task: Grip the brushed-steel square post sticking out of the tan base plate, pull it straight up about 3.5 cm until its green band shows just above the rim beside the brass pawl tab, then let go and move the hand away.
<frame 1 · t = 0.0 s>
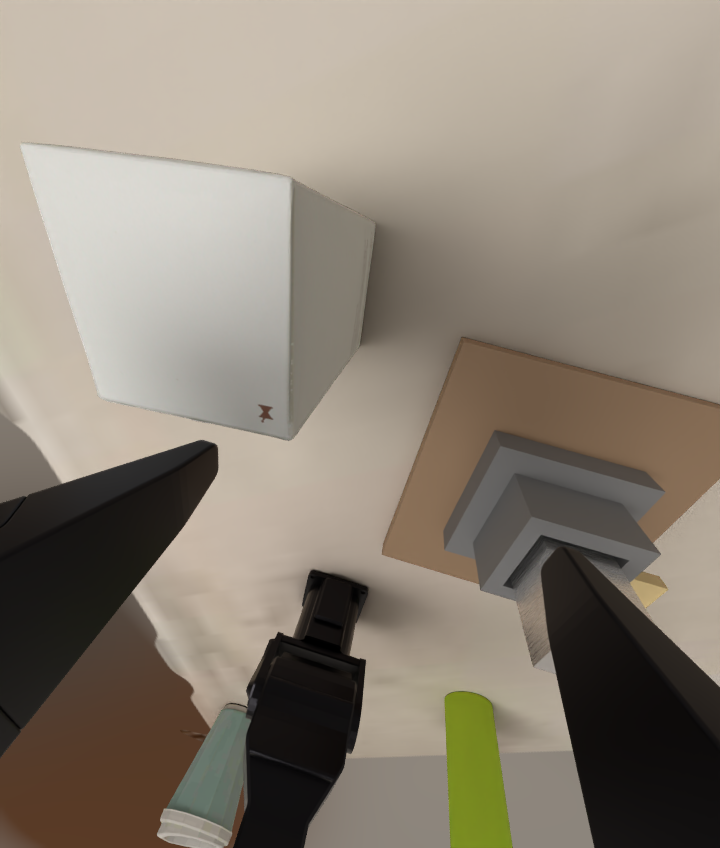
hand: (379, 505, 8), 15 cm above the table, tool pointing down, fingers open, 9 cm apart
disposable coffee cup: (242, 711, 57), on the table
tan base plate: (527, 493, 24), on the table
soap dispenser: (463, 699, 41), on the table
supplement box: (312, 280, 20), on the table
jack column: (558, 566, 19), point 6 cm above the table, slide at 0.0 cm
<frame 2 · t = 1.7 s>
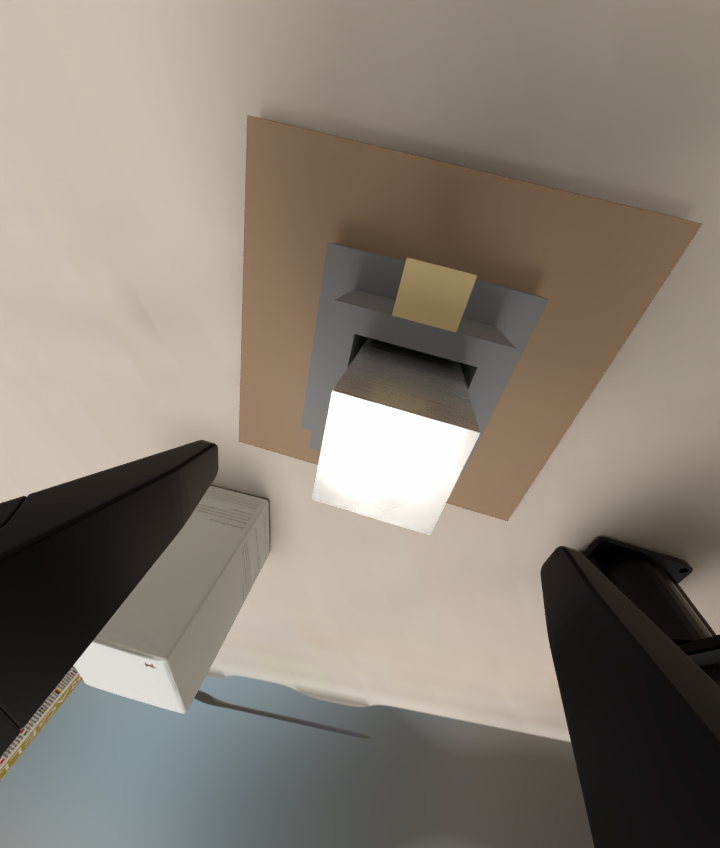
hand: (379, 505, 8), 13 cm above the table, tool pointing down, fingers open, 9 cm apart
tan base plate: (407, 356, 19), on the table
supplement box: (234, 517, 30), on the table
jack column: (398, 400, 14), point 6 cm above the table, slide at 0.0 cm
juice carton: (103, 593, 42), on the table
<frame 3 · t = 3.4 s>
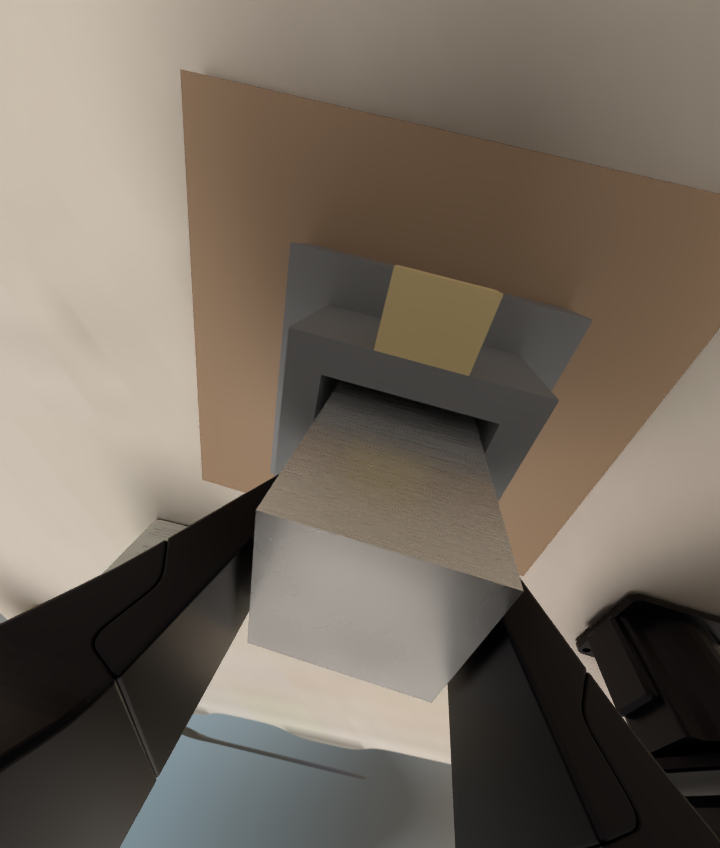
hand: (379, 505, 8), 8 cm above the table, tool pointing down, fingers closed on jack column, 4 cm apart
tan base plate: (401, 383, 15), on the table
supplement box: (206, 556, 26), on the table
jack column: (387, 459, 10), point 6 cm above the table, slide at 0.0 cm, touching gripper
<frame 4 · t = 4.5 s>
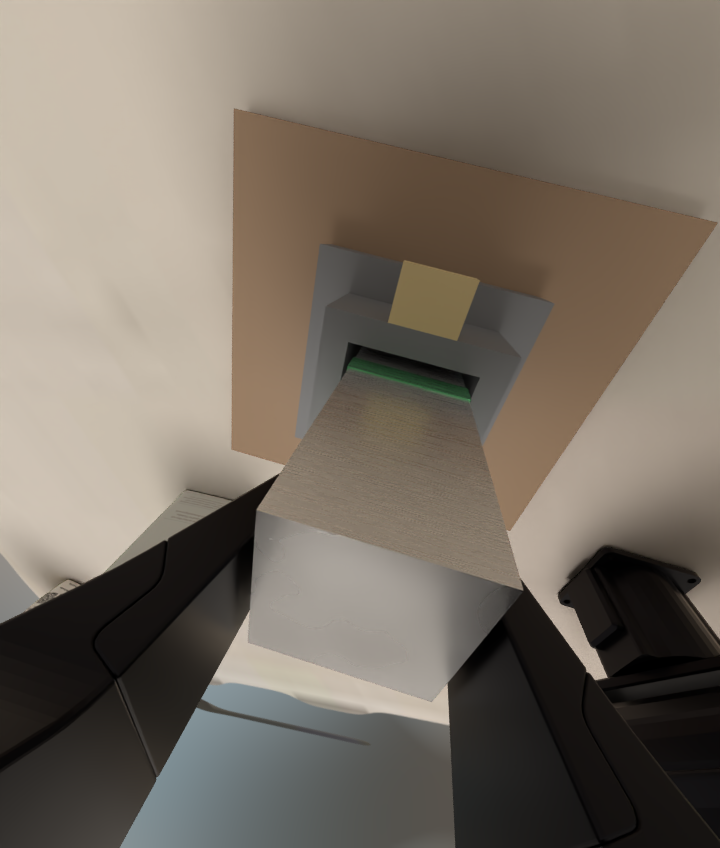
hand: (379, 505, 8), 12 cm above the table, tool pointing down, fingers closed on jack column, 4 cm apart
tan base plate: (405, 362, 18), on the table
supplement box: (229, 525, 29), on the table
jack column: (387, 459, 10), point 10 cm above the table, slide at 3.4 cm, touching gripper
juice carton: (96, 600, 41), on the table
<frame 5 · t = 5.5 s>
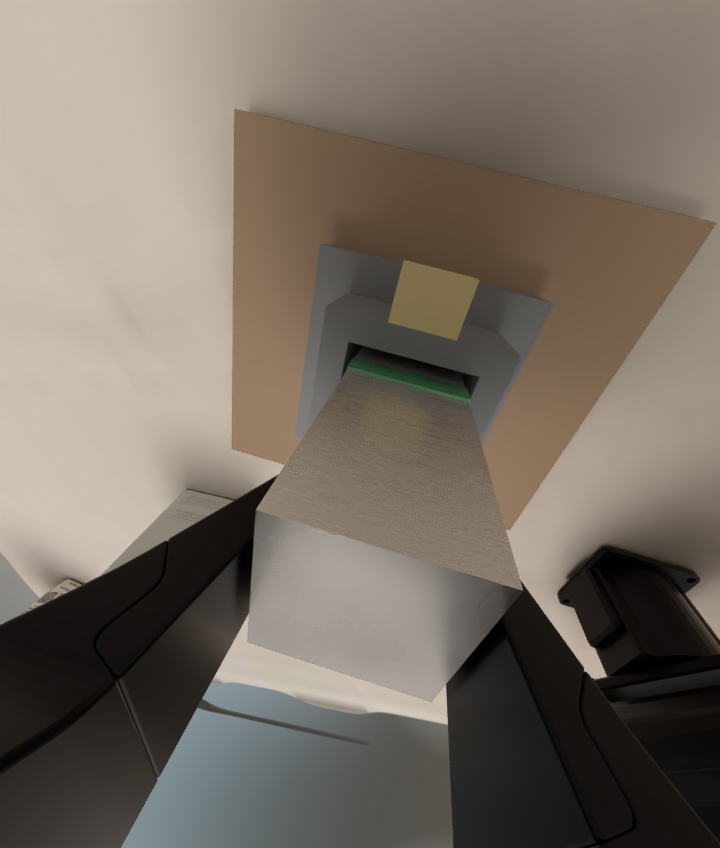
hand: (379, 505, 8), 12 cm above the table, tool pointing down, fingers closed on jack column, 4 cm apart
tan base plate: (405, 362, 18), on the table
supplement box: (229, 524, 29), on the table
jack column: (387, 459, 10), point 10 cm above the table, slide at 3.4 cm, touching gripper
juice carton: (97, 600, 41), on the table
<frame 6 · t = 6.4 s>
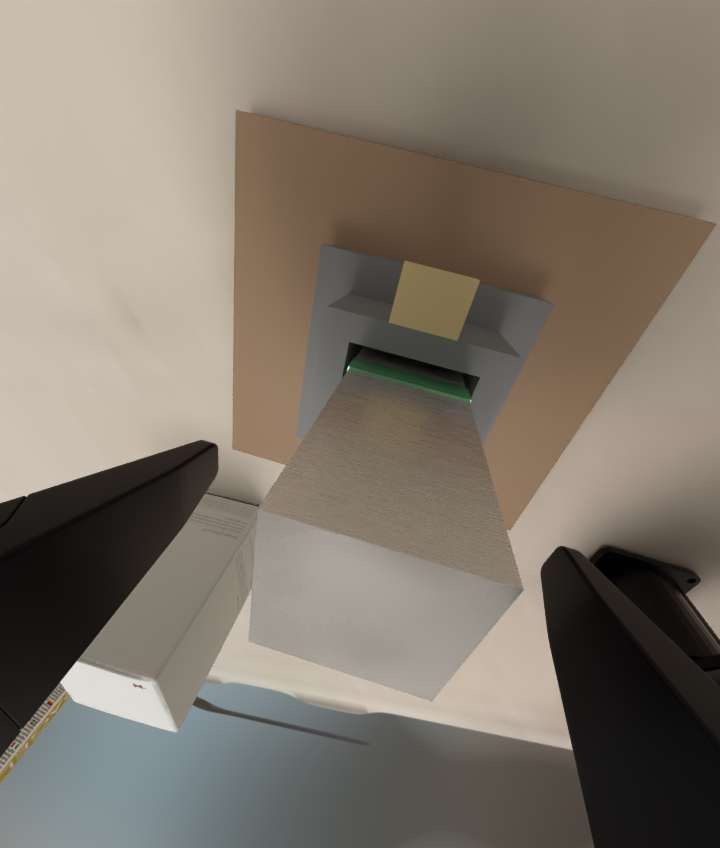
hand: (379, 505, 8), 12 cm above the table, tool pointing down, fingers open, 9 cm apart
tan base plate: (405, 362, 18), on the table
supplement box: (229, 524, 29), on the table
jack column: (388, 459, 10), point 10 cm above the table, slide at 3.4 cm
juice carton: (97, 600, 41), on the table
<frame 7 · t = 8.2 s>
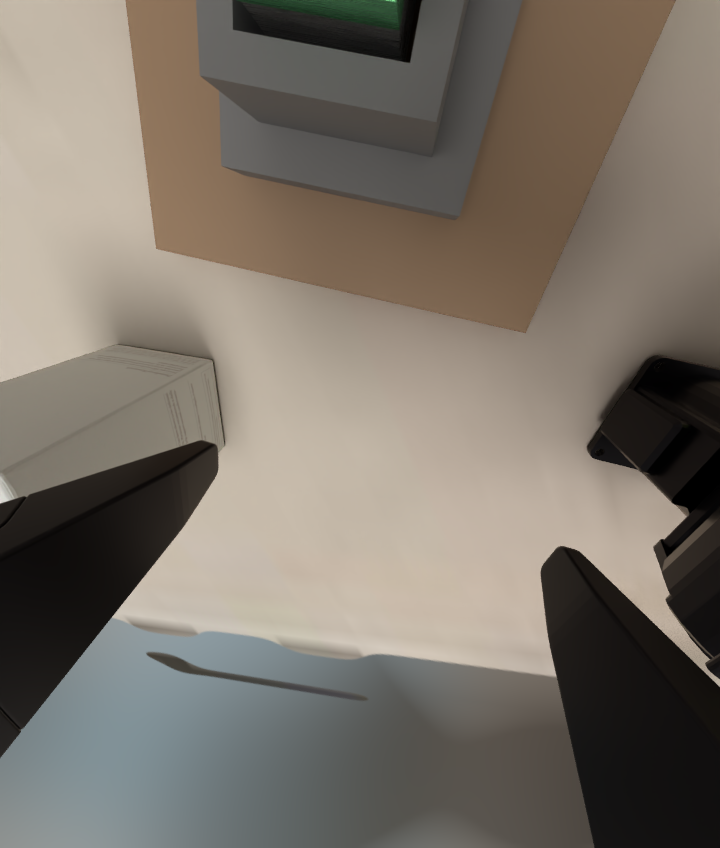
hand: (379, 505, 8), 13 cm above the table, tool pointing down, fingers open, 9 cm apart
tan base plate: (373, 55, 13), on the table
supplement box: (176, 397, 23), on the table
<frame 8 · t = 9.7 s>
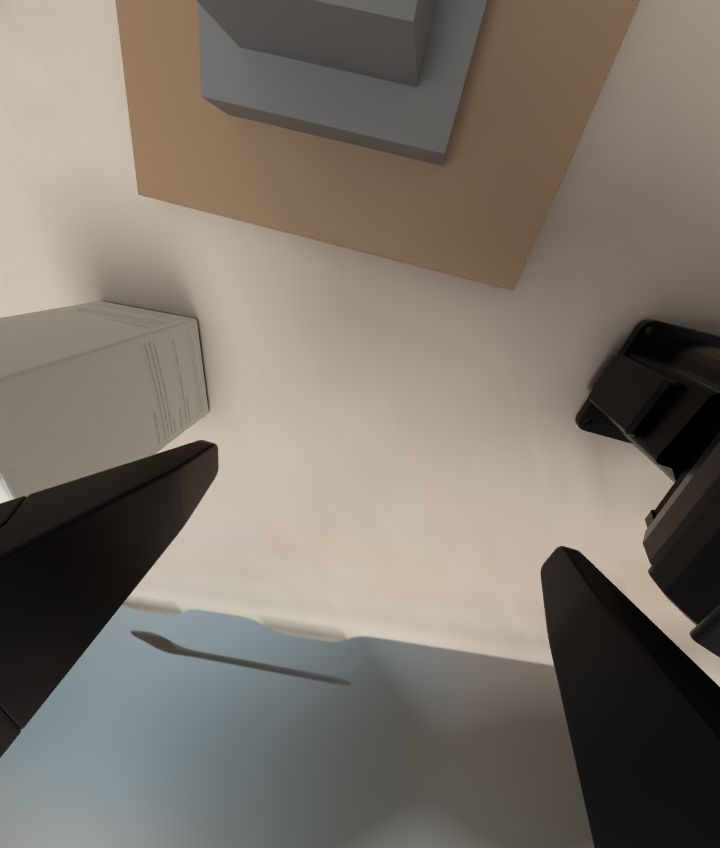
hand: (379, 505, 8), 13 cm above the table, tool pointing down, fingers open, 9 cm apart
supplement box: (160, 360, 23), on the table
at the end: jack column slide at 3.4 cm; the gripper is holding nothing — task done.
